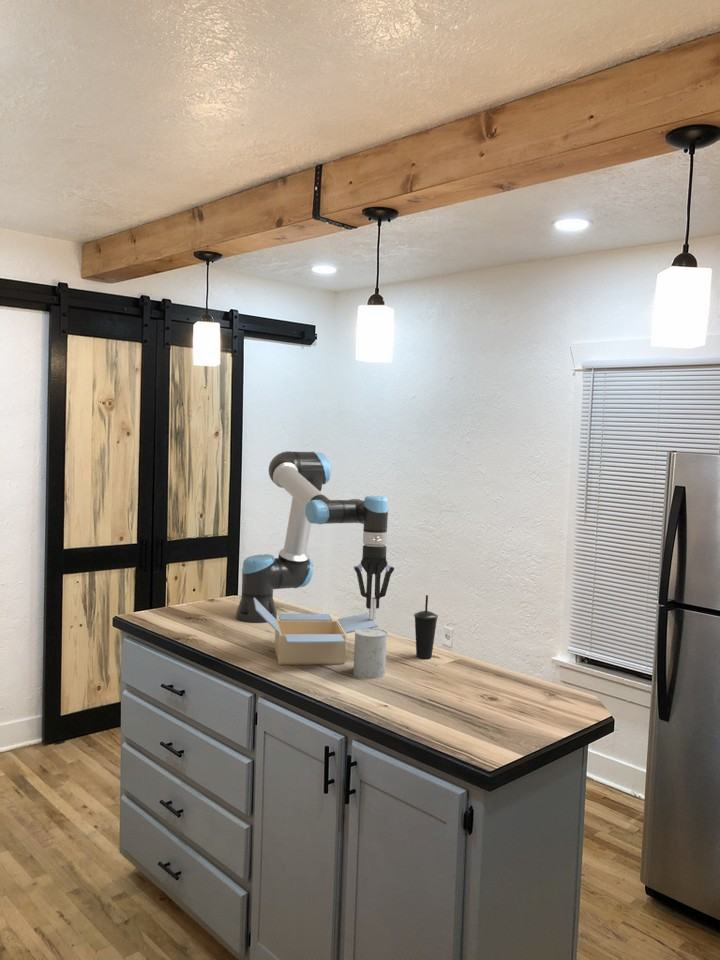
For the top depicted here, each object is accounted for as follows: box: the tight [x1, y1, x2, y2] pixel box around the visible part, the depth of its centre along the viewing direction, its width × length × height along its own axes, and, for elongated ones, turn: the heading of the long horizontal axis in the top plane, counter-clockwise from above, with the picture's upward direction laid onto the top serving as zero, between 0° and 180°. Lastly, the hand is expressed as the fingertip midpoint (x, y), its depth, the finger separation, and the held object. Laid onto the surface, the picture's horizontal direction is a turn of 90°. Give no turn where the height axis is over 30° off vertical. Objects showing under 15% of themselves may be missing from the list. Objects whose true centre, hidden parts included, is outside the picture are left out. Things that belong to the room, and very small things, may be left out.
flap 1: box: [253, 598, 280, 633], centre depth 237 cm, size 17×10×1 cm
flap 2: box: [337, 612, 379, 634], centre depth 242 cm, size 17×10×1 cm, turn 10°
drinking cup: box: [413, 594, 439, 660], centre depth 244 cm, size 8×8×20 cm
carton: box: [274, 613, 347, 666], centre depth 240 cm, size 34×20×9 cm, turn 10°
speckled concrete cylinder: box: [352, 628, 388, 680], centre depth 225 cm, size 10×10×12 cm
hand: (372, 618), depth 243 cm, fingers closed
